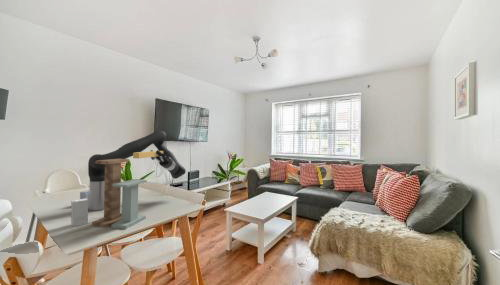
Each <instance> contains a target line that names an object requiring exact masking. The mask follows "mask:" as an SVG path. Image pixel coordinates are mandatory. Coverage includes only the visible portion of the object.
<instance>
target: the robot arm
mask: <svg viewBox="0 0 500 285" xmlns="http://www.w3.org/2000/svg"><path fill="white" fill-rule="evenodd" d="M166 139H167V132H165V131H164V130H156V131H153V132H152V133H150V134H148V135H145V136H144V137H141V138H137V139H135V140H132V141H130V142H127V143H125V144H123V145H122V146H120V147H118V149H115V150H113V151H111V152H108V153H104V154H93V155H91V156H90V157H89V160H88V163H87V164H88V165H87V166H88V167H87V169H88V171H87V172H88V177H89V193H88V211H93V212H94V211H101V210H104V187H105V164H95V161H98V160H109V159H129V158H131V157H133V153H136V152H144V151H145V150H146V149H147V148H149V147H150V146H151V145H154V147H155V148H156V149H157V150H155V151H156V154H157V155H158V156H157V157H150V159H151V160H152V161H154V160H156V162H158V163H159V165H160V166H161V167H162V168H164V170H166V171H167V172H169V173H170V175H171V177H172V178H173V179H174V180H175V179H176V180H177V179H179V178H180V177H182V176H184V175H185V174H186V168H185V167H184V166H183V165H181V164H180V162H179V161H178V159H177V158H176V157H175V155H174V153H173V152H172V151H171V150H169V149H168V148H167V147H166V145H165V141H166ZM150 151H154V150H152V149H151V150H150ZM160 151H163V153H161V152H160Z"/></svg>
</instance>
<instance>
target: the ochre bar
mask: <svg viewBox="0 0 500 285" xmlns="http://www.w3.org/2000/svg"><path fill="white" fill-rule="evenodd" d="M156 151H157V150H153V151H151V150H150V151H142V152H136V153H133V156H132V158H133V159H137V160H138V159H147V158H151V157H157V156H158V155H157V154H156ZM160 152H161V153H163V151H160Z"/></svg>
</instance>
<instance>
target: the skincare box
mask: <svg viewBox="0 0 500 285" xmlns="http://www.w3.org/2000/svg"><path fill="white" fill-rule="evenodd" d="M70 203H71V205H70V207H71V208H70V209H71V212H70V215H71V216H70V217H71V219H70V221H71V222H70V223H71V226H72V227H76V226H82V225H85V224H88V223H89V209H88V200H87V199H86V198H85V199H80V198H79V199H75V200H74V199H72V200H71V201H70Z"/></svg>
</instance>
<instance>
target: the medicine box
mask: <svg viewBox="0 0 500 285" xmlns="http://www.w3.org/2000/svg"><path fill="white" fill-rule="evenodd" d="M89 190H90V189H89ZM89 190H85V191H80V192H79V199H85V198H86V199H87V200H88V193H89Z"/></svg>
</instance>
